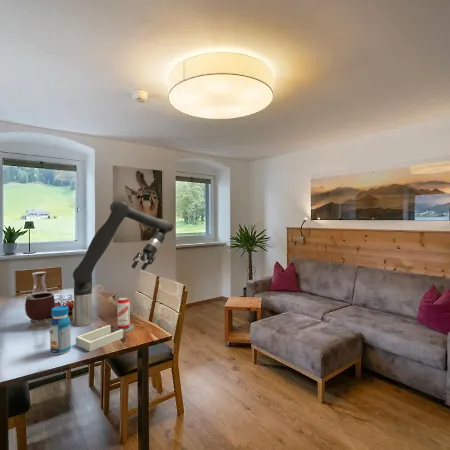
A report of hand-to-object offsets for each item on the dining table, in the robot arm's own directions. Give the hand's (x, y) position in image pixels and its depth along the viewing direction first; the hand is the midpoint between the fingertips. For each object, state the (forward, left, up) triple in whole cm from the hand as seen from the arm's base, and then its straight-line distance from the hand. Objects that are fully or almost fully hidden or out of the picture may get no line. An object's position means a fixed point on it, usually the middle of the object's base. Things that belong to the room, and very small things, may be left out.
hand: (137, 268), depth 170 cm
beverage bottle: (-21, -40, -31) cm, 55 cm away
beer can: (-3, -13, -30) cm, 33 cm away
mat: (-3, -13, -31) cm, 33 cm away
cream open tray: (-8, -29, -31) cm, 43 cm away
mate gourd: (-51, -13, -31) cm, 61 cm away
